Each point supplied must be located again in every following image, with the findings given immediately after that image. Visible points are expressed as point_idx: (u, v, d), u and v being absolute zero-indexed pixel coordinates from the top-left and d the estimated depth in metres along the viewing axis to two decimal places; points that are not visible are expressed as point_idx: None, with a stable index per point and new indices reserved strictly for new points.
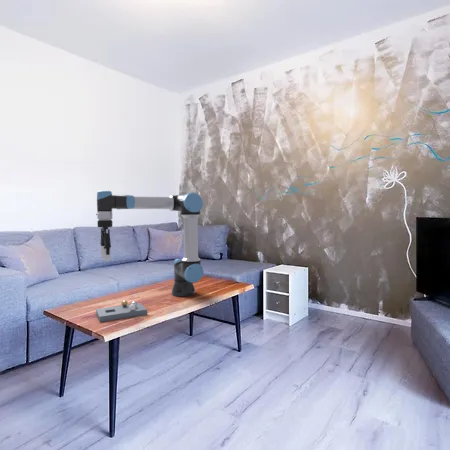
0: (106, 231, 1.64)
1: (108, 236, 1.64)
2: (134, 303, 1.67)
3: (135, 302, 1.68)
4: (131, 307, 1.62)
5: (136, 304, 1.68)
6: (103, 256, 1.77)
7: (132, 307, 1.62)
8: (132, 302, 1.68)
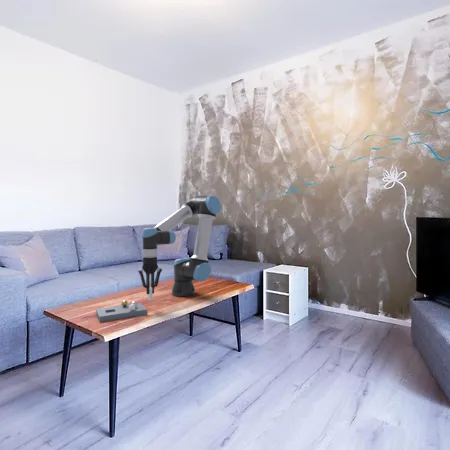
0: (139, 272, 1.69)
1: (141, 277, 1.69)
2: (134, 303, 1.67)
3: (135, 302, 1.68)
4: (131, 307, 1.62)
5: (136, 304, 1.68)
6: None
7: (132, 307, 1.62)
8: (132, 302, 1.68)
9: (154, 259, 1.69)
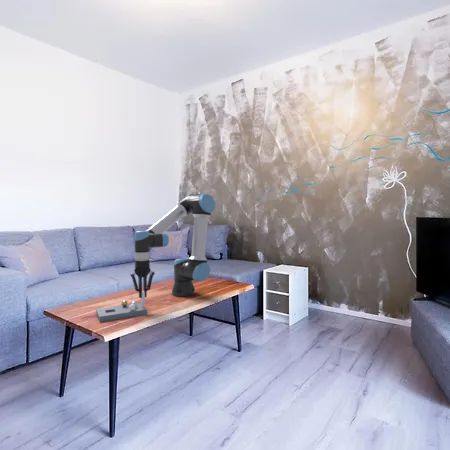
0: (131, 276, 1.67)
1: (133, 280, 1.67)
2: (134, 303, 1.67)
3: (135, 302, 1.68)
4: (131, 307, 1.62)
5: (136, 304, 1.68)
6: None
7: (132, 307, 1.62)
8: (132, 302, 1.68)
9: (146, 262, 1.67)
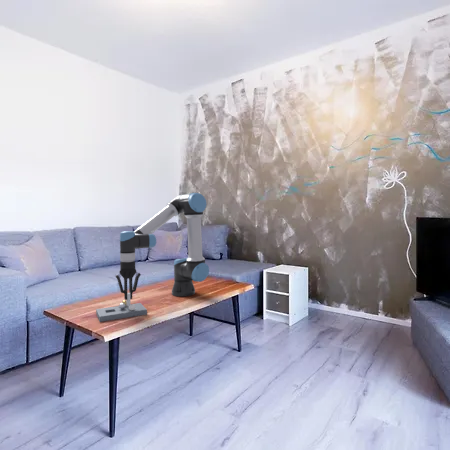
0: (116, 277, 1.64)
1: (118, 282, 1.64)
2: (123, 308, 1.65)
3: None
4: (131, 307, 1.62)
5: (121, 308, 1.64)
6: None
7: (132, 307, 1.62)
8: None
9: (132, 263, 1.64)
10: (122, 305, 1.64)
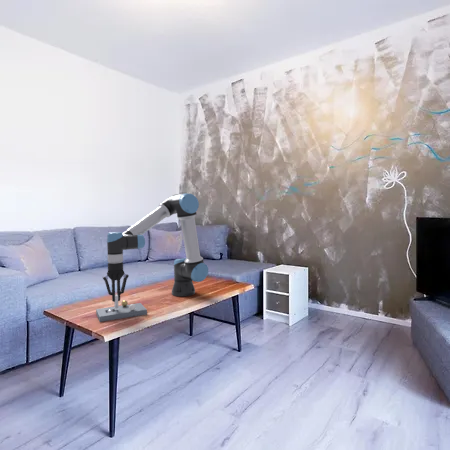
0: None
1: None
2: None
3: None
4: (131, 307, 1.62)
5: (109, 311, 1.61)
6: None
7: (132, 307, 1.62)
8: None
9: (119, 265, 1.61)
10: None
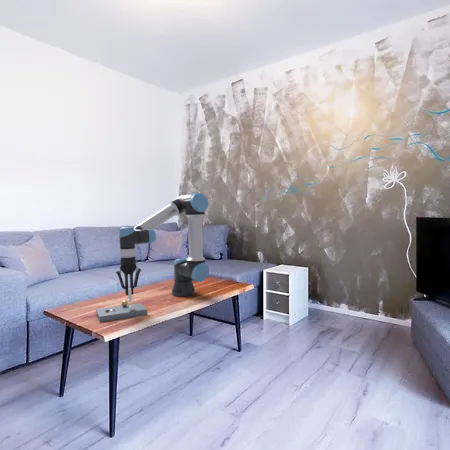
0: None
1: (119, 278, 1.64)
2: None
3: (109, 311, 1.62)
4: (131, 307, 1.62)
5: (112, 311, 1.62)
6: None
7: (132, 307, 1.62)
8: None
9: (132, 259, 1.64)
10: None
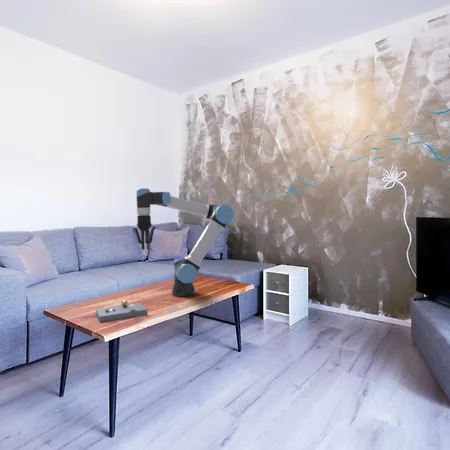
0: (134, 229, 1.84)
1: (136, 234, 1.84)
2: None
3: None
4: (131, 307, 1.62)
5: (111, 311, 1.62)
6: None
7: (132, 307, 1.62)
8: None
9: (148, 217, 1.84)
10: None
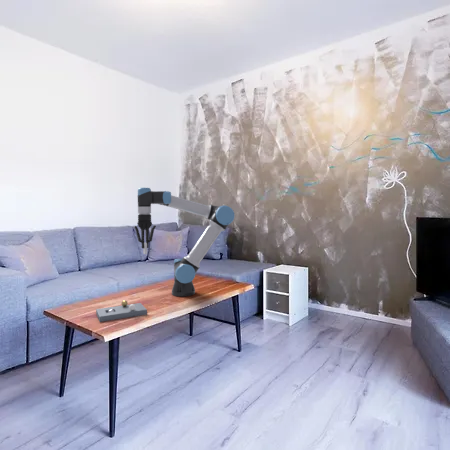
0: (134, 228, 1.85)
1: (136, 232, 1.85)
2: None
3: (108, 312, 1.61)
4: (131, 307, 1.62)
5: (111, 311, 1.62)
6: None
7: (132, 307, 1.62)
8: None
9: (148, 216, 1.85)
10: None
